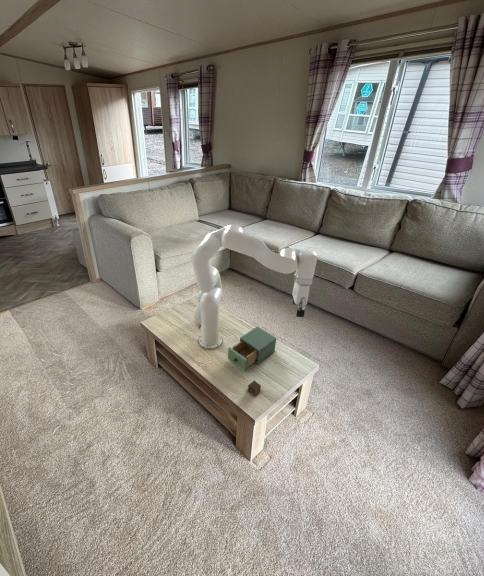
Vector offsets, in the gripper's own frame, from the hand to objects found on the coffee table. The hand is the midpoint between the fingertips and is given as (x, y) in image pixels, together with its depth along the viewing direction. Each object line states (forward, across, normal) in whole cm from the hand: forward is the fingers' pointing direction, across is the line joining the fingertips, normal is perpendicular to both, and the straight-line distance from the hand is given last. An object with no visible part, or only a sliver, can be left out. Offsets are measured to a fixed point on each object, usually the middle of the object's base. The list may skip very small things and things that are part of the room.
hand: (298, 310), depth 140 cm
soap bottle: (+28, -24, -46) cm, 59 cm away
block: (+28, +25, -20) cm, 43 cm away
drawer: (+27, +6, -24) cm, 37 cm away
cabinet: (+28, -1, -17) cm, 33 cm away
